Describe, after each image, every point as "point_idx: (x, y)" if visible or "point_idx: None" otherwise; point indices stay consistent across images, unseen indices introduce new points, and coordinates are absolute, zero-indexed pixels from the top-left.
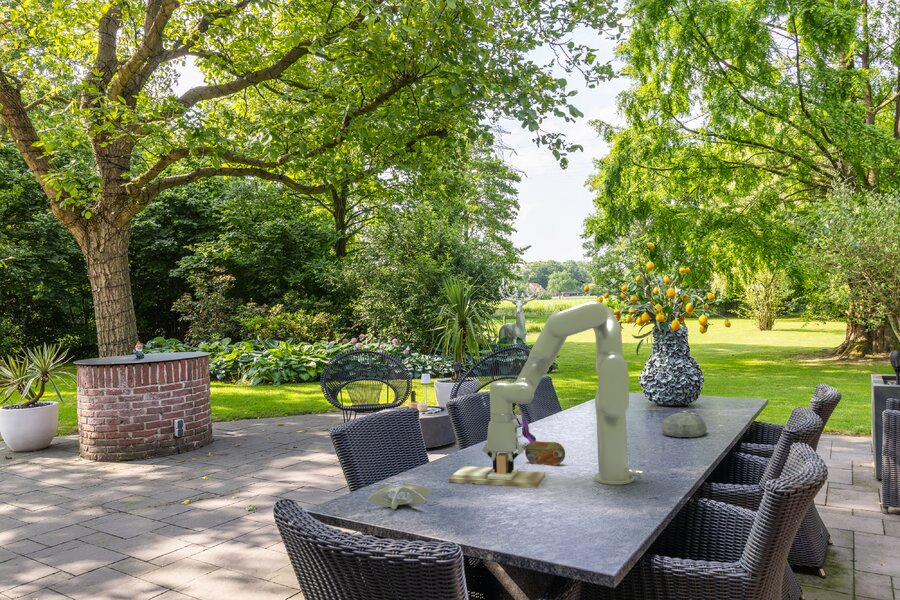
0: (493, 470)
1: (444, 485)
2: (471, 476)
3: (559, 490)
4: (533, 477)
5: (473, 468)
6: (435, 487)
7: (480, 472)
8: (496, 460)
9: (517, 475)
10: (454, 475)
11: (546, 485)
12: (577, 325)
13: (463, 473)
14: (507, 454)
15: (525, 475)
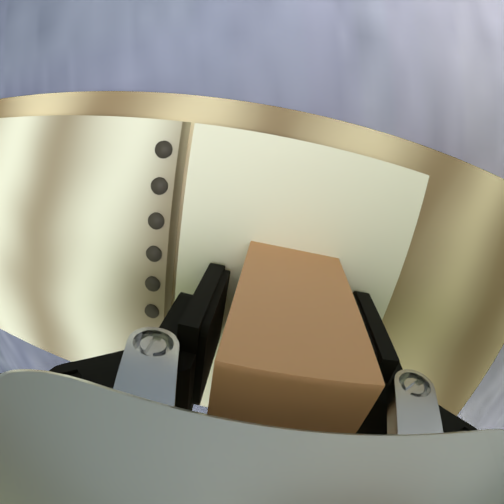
0: (180, 259)
1: (16, 349)
2: (76, 358)
3: (501, 414)
4: (478, 337)
5: (22, 175)
6: (8, 366)
7: (93, 297)
8: (196, 384)
9: (395, 295)
10: (2, 326)
11: (494, 368)
12: None
13: (19, 309)
14: (350, 430)
15: (449, 294)
